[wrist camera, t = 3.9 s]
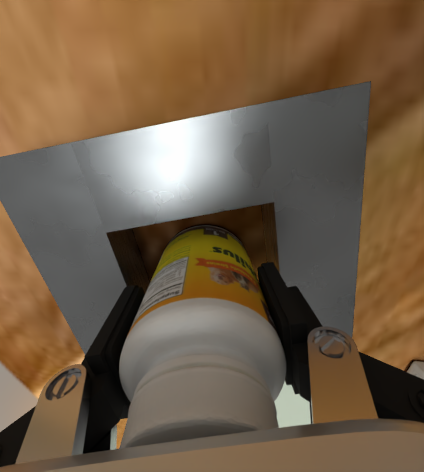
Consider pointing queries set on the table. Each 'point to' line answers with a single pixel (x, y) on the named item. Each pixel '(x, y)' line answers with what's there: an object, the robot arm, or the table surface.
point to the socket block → (199, 199)
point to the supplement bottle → (201, 346)
